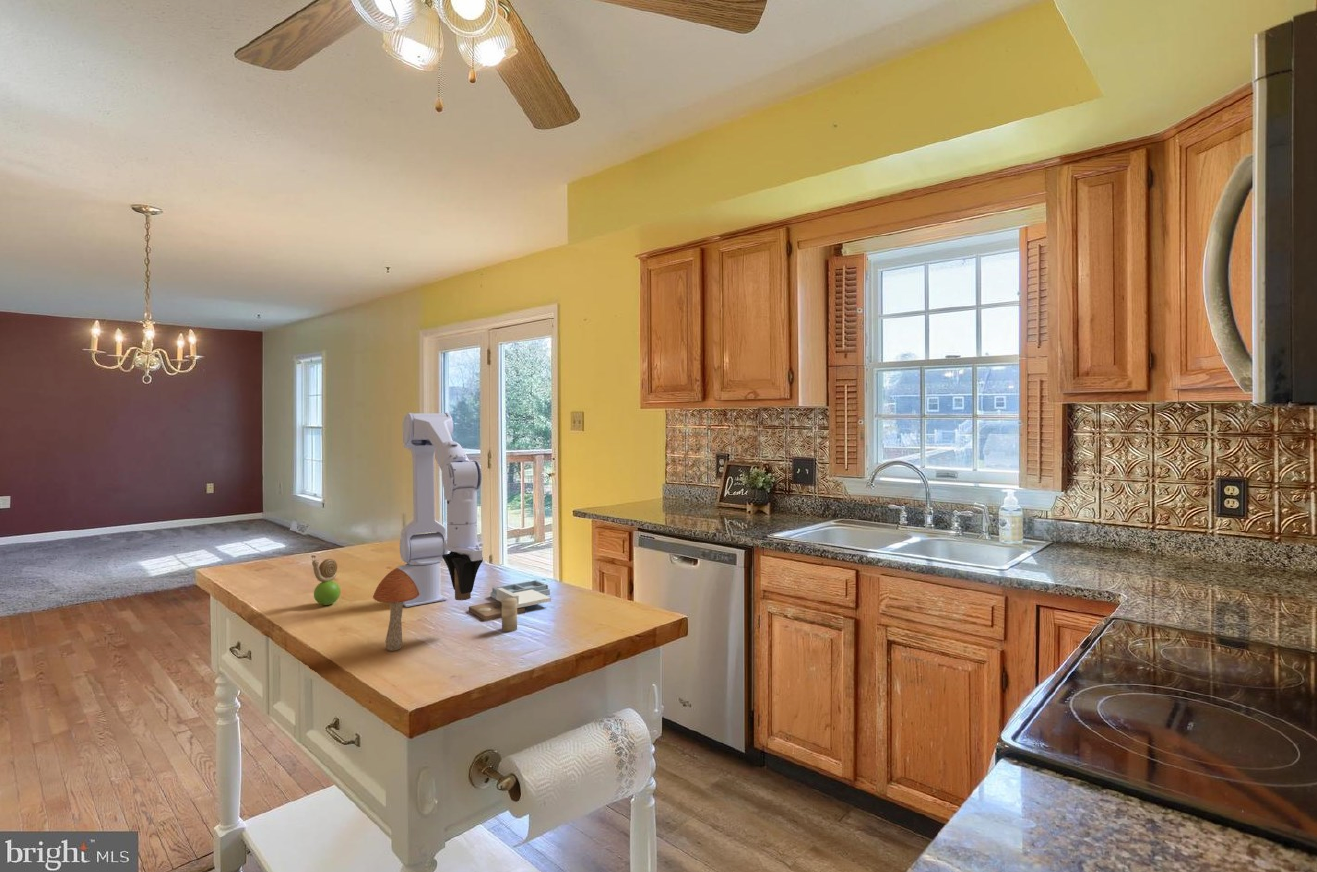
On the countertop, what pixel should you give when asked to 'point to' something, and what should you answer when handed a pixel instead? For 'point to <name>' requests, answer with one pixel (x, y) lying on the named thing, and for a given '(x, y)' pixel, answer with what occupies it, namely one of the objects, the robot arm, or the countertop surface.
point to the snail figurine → (326, 581)
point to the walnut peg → (457, 591)
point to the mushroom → (395, 602)
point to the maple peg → (509, 614)
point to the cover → (523, 597)
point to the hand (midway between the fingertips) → (462, 590)
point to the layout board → (490, 610)
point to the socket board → (524, 588)
